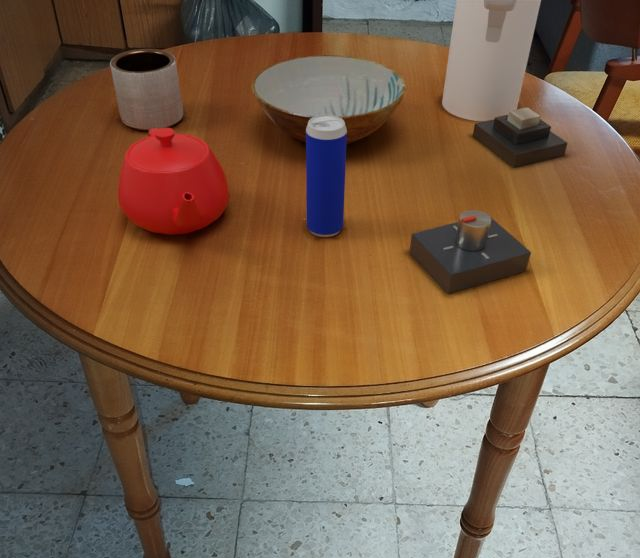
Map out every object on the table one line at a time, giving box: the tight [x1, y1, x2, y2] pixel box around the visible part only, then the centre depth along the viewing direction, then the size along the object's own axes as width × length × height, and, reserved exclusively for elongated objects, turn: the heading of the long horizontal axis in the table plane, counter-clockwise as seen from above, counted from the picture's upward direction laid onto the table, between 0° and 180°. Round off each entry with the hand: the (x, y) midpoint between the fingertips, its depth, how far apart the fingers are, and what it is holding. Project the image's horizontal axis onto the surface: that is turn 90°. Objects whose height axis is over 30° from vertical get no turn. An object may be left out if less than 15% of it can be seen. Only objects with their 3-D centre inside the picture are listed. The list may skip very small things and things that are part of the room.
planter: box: [109, 48, 184, 132], centre depth 115 cm, size 11×11×10 cm
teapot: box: [117, 127, 231, 236], centre depth 93 cm, size 25×16×12 cm, turn 21°
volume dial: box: [455, 209, 492, 251], centre depth 87 cm, size 4×4×4 cm
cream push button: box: [507, 107, 541, 129], centre depth 109 cm, size 4×4×2 cm
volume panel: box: [409, 217, 532, 295], centre depth 89 cm, size 12×10×3 cm
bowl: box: [250, 54, 407, 146], centre depth 112 cm, size 25×25×8 cm
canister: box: [441, 0, 542, 122], centre depth 116 cm, size 14×14×20 cm
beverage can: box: [305, 115, 347, 238], centre depth 90 cm, size 5×5×15 cm
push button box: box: [472, 115, 568, 168], centre depth 111 cm, size 10×12×4 cm
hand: (494, 27), depth 88 cm, fingers open, 8 cm apart
